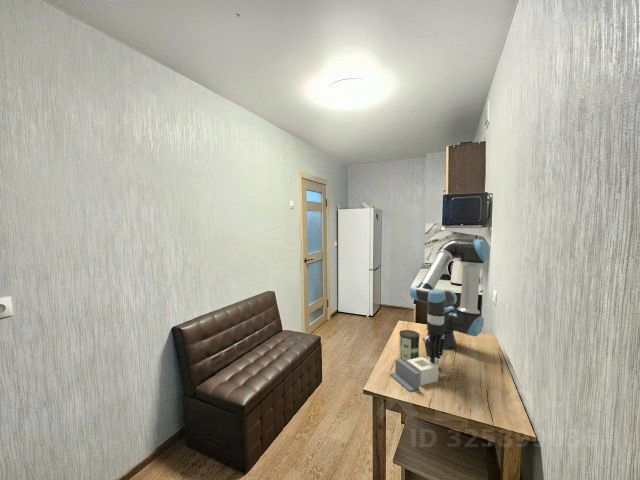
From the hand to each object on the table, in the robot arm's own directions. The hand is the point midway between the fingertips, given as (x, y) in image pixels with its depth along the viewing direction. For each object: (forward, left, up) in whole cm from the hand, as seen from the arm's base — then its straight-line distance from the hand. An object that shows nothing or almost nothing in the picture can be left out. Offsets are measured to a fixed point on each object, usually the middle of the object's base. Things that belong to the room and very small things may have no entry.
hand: (434, 370), depth 130 cm
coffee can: (+1, -17, -2) cm, 17 cm away
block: (+7, 0, -2) cm, 8 cm away
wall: (+18, 0, -2) cm, 18 cm away
